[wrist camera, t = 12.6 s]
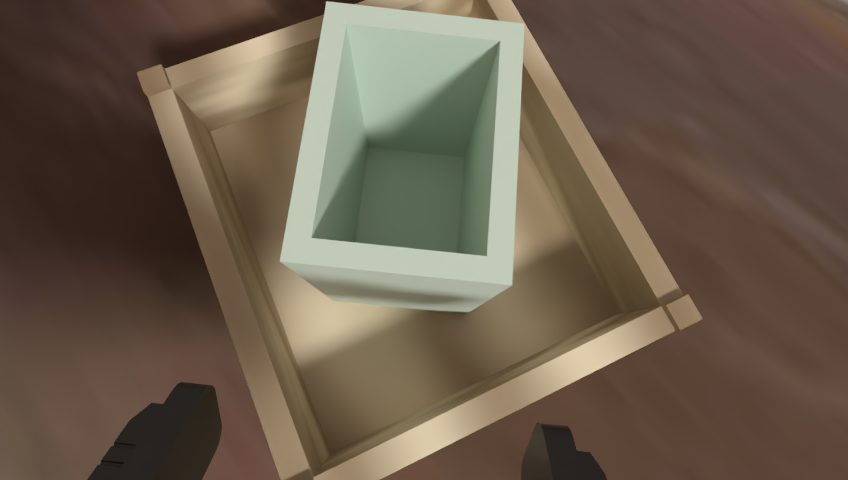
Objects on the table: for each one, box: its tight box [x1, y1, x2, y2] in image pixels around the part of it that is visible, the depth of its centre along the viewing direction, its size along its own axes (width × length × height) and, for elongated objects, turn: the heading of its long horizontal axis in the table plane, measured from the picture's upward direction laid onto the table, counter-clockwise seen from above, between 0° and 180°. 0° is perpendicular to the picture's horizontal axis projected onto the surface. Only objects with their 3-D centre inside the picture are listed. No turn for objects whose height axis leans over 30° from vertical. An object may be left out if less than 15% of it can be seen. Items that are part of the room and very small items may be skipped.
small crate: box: [280, 1, 525, 314], centre depth 17 cm, size 6×8×9 cm
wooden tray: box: [137, 0, 702, 480], centre depth 20 cm, size 16×18×5 cm
